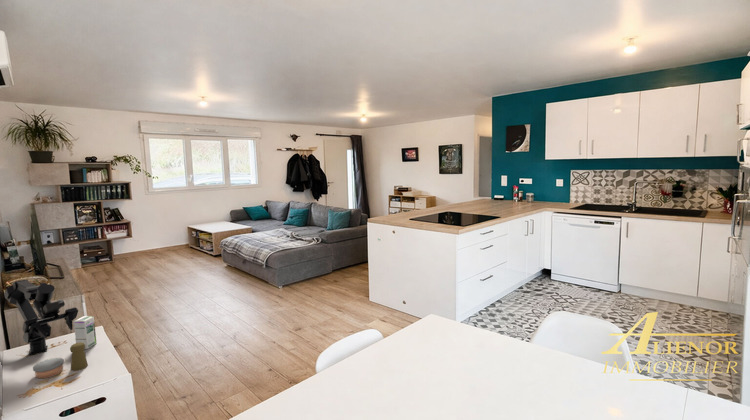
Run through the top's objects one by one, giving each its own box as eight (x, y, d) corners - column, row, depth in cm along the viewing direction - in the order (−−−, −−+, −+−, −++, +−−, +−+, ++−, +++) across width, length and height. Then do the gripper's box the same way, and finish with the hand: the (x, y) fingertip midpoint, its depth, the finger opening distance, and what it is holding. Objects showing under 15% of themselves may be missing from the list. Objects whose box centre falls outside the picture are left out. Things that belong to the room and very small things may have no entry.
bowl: (36, 372, 158) (35, 364, 158) (63, 365, 164) (62, 357, 164) (34, 381, 151) (33, 373, 151) (63, 374, 157) (62, 366, 157)
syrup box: (87, 349, 178) (85, 320, 177) (75, 348, 178) (73, 320, 177) (96, 343, 184) (94, 316, 182) (85, 343, 184) (82, 315, 182)
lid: (34, 364, 158) (33, 362, 158) (64, 357, 164) (64, 355, 164) (32, 374, 150) (31, 372, 150) (63, 366, 157) (63, 364, 156)
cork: (91, 365, 164) (89, 341, 163) (76, 372, 159) (74, 348, 157) (82, 362, 166) (80, 339, 165) (67, 369, 161) (65, 345, 159)
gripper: (20, 302, 156) (35, 329, 151) (73, 290, 172) (88, 314, 167) (16, 319, 160) (30, 346, 155) (68, 306, 176) (82, 329, 171)
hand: (59, 333), depth 162 cm, fingers open, 9 cm apart
